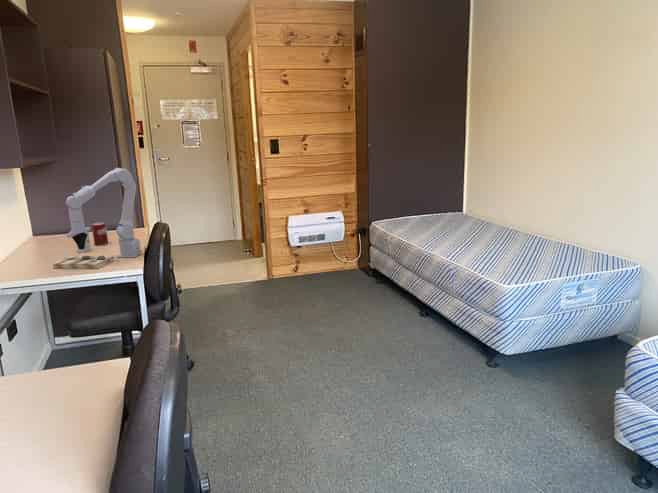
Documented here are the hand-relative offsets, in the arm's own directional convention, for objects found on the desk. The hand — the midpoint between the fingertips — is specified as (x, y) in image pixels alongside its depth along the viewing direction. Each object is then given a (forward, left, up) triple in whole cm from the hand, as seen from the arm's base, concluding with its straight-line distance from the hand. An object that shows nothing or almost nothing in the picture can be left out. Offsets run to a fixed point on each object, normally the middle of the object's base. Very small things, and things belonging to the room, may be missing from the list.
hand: (81, 249), depth 232 cm
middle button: (-1, 0, -5) cm, 6 cm away
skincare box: (+16, -23, -8) cm, 29 cm away
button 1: (+7, 0, -6) cm, 9 cm away
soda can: (+16, -38, -8) cm, 42 cm away
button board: (-1, +2, -7) cm, 8 cm away
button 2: (-9, 0, -5) cm, 11 cm away
